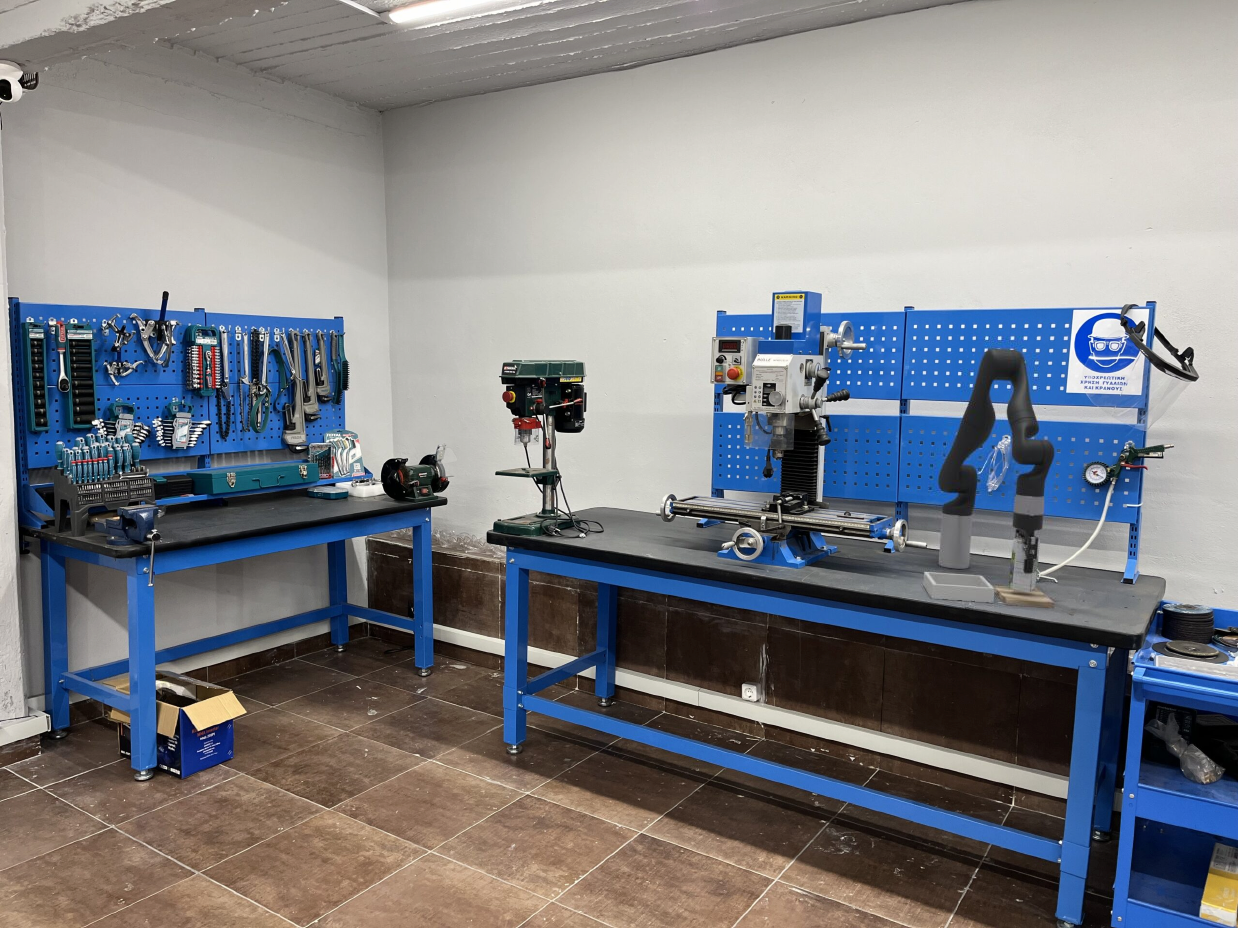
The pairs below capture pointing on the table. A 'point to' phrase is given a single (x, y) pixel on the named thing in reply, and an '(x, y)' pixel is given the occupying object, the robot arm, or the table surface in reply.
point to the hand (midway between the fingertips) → (1023, 569)
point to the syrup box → (1017, 574)
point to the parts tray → (958, 587)
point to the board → (1023, 597)
